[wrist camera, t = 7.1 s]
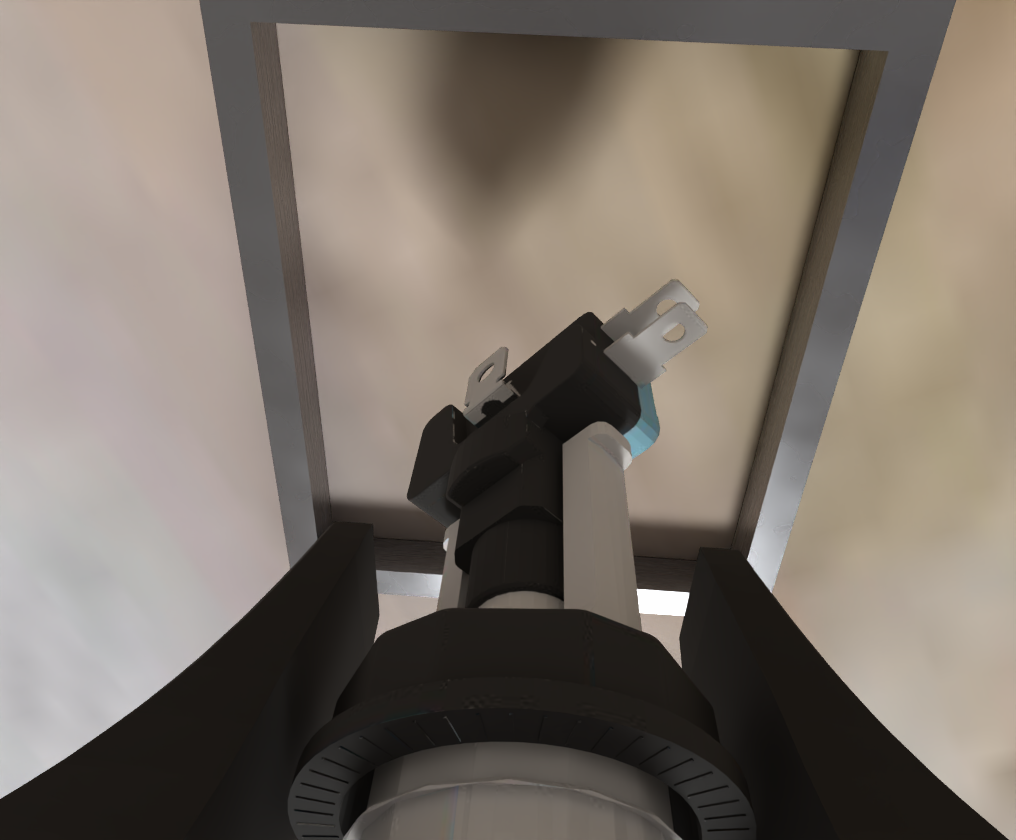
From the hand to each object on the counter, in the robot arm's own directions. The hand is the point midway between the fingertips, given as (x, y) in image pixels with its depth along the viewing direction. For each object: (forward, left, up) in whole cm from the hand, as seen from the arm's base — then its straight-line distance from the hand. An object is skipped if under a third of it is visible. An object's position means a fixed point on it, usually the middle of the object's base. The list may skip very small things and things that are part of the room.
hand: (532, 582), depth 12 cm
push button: (0, -1, -5) cm, 5 cm away
